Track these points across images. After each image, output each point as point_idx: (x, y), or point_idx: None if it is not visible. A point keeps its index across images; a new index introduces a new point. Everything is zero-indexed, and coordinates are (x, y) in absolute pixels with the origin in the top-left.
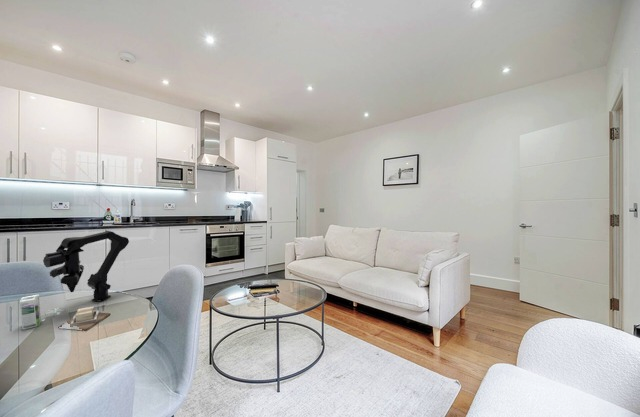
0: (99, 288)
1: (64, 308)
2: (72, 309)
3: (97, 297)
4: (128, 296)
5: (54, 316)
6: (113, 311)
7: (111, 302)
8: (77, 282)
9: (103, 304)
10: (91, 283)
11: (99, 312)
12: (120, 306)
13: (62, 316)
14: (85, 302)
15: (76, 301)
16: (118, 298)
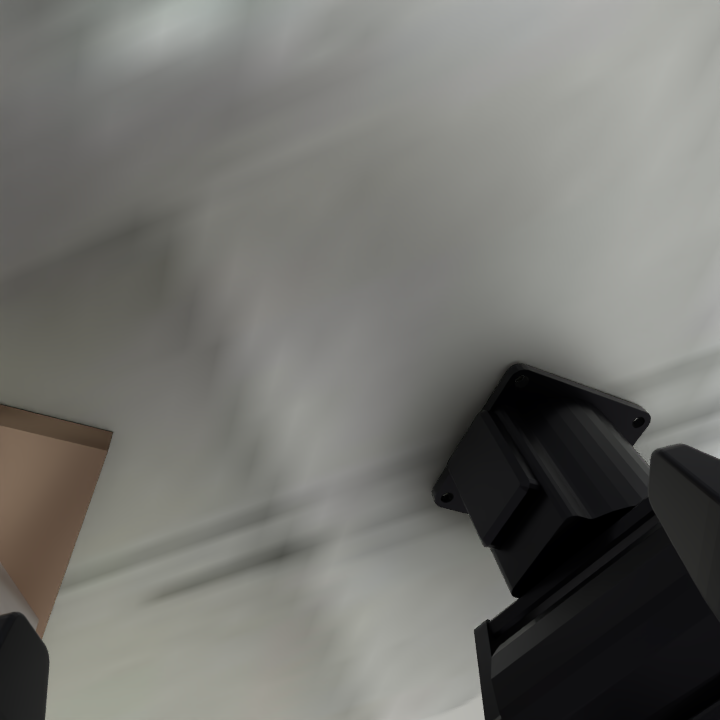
0: (487, 696)
1: (352, 51)
2: (274, 212)
3: (464, 498)
4: (477, 671)
5: (27, 5)
6: (112, 685)
7: (369, 588)
8: (706, 583)
9: (336, 534)
10: (626, 698)
11: (44, 621)
12: (231, 695)
13: (17, 161)
14: (486, 301)
15: (586, 146)
16: (461, 610)
